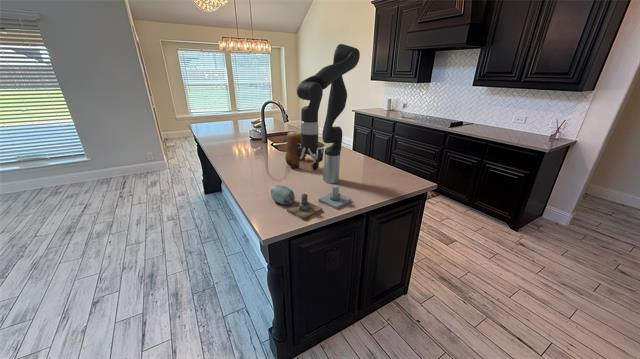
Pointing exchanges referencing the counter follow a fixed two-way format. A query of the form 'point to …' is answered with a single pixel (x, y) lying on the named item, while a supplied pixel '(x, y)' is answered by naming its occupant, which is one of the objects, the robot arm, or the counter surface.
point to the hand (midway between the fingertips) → (309, 168)
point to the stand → (304, 209)
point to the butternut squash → (293, 149)
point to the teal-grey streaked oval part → (282, 195)
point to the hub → (335, 198)
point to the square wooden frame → (307, 164)
